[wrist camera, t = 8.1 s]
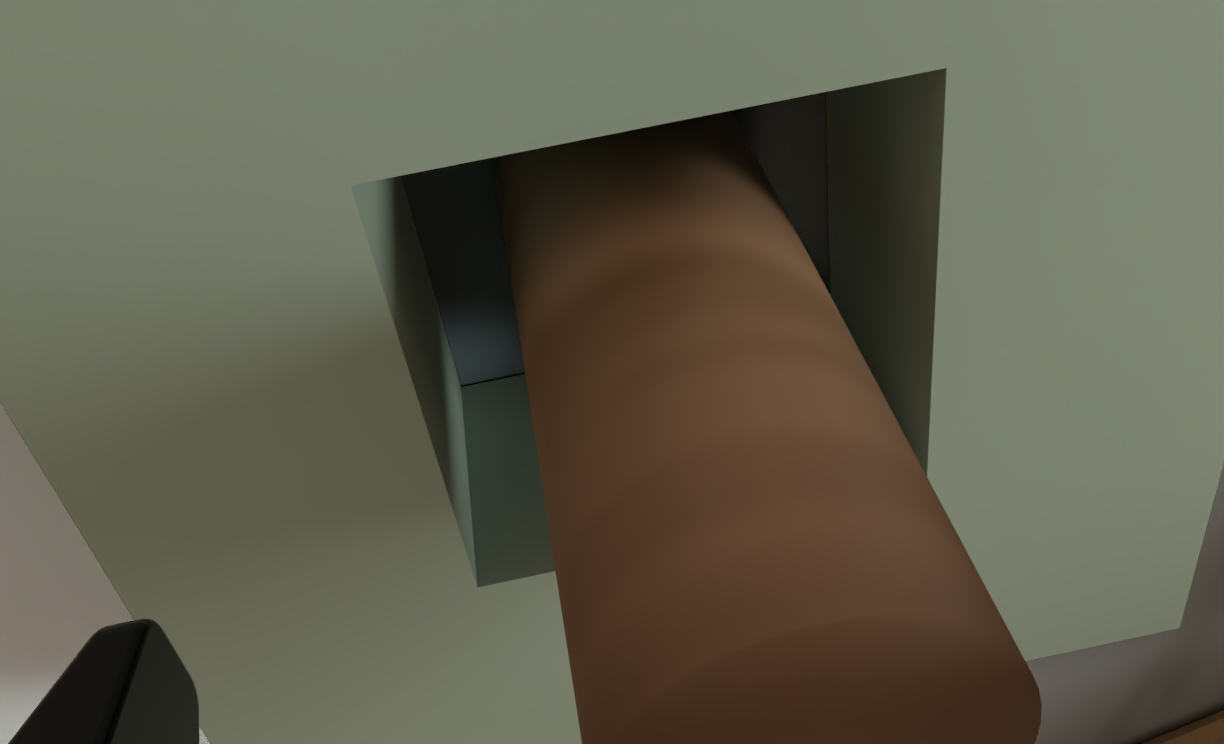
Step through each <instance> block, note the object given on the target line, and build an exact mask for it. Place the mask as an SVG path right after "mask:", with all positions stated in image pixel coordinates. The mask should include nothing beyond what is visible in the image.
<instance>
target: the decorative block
mask: <svg viewBox="0 0 1224 744" xmlns="http://www.w3.org/2000/svg"><path fill="white" fill-rule="evenodd" d="M1142 744H1224V710H1222V711H1220V712H1217V713H1215V714H1212V715H1210V716H1207V717H1205V718H1203V719H1200V720H1198V721H1195V722H1193V723H1190V724H1188V725H1185V726H1183V727H1181V728H1178V729H1176V730H1173V731H1171V732H1168V733H1166V734H1164V735H1161V736H1159V737H1156V738H1154V739H1151V740H1149V741H1146V742H1144V743H1142Z"/></svg>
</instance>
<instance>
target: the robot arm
mask: <svg viewBox="0 0 1224 744" xmlns="http://www.w3.org/2000/svg"><path fill="white" fill-rule="evenodd" d="M8 744H199V703H198V696H197V692H196V688H195V685H194V682H193V680H192V678H191V676H190V674H189V672H188V671H187V669H186V667H185V666H184V664H183V662H182V661H181V659H180V657H179V656H178V654H177V652H176V651H175V649H174V647H173V646H172V644H171V642H170V641H169V639H168V637H167V636H166V634H165V632H164V631H163V629H162V628H161V626H160V625H159V624H158V623H157V622H155V621H154V620H152V619H139V620H135V621H130V622H125V623H120V624H116V625H111V626H106V627H104V628H102V629H100V630H98V631H97V632H96V633H95V634H93V636H92V637H91V638H90V639H89V640H88V641H87V643H86V644H85V645H84V647H83V648H82V649H81V650H80V652H79V653H78V654H77V656H76V657H75V658H74V660H73V661H72V662H71V663H70V665H69V666H68V667H67V669H66V670H65V671H64V672H63V674H62V675H61V676H60V678H59V679H58V680H57V681H56V683H55V684H54V685H53V687H52V688H51V689H50V691H49V692H48V693H47V694H46V696H45V697H44V698H43V700H42V701H41V702H40V703H39V705H38V706H37V707H36V709H35V710H34V711H33V712H32V714H31V715H30V716H29V718H28V719H27V720H26V721H25V723H24V724H23V725H22V727H21V728H20V729H19V731H18V732H17V733H16V734H15V736H14V737H13V738H12V740H11V741H10V742H9V743H8Z"/></svg>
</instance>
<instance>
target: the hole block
mask: <svg viewBox="0 0 1224 744" xmlns="http://www.w3.org/2000/svg"><path fill="white" fill-rule="evenodd" d="M823 92H826V107H827V153H828V199H829V245H830V291H831V298H832V300H833V301H834V303H835V305H836V307H837V309H838V311H839V313H840V315H841V316H842V318H843V320H844V322H845V324H846V326H847V328H848V330H849V332H850V333H851V335H852V337H853V339H854V341H855V343H856V345H857V347H858V348H859V350H860V352H861V354H862V356H863V358H864V360H865V362H866V363H867V365H868V367H869V369H870V371H871V373H872V375H873V377H874V378H875V380H876V382H877V384H878V386H879V388H880V390H881V392H882V393H883V395H884V397H885V399H886V401H887V403H888V405H889V407H890V408H891V410H892V412H893V414H894V416H895V418H896V420H897V422H898V423H899V425H900V427H901V429H902V431H903V433H904V435H905V437H906V438H907V440H908V442H909V444H910V446H911V448H912V450H913V452H914V453H915V455H916V457H917V459H918V461H919V463H920V465H921V467H922V468H923V470H924V472H925V474H926V476H927V478H928V480H929V482H930V483H931V485H932V487H933V489H934V491H935V493H936V495H937V497H938V498H939V500H940V502H941V504H942V506H943V508H944V510H945V512H946V513H947V515H948V517H949V519H950V521H951V523H952V525H953V527H954V528H955V530H956V532H957V534H958V536H959V538H960V540H961V542H962V543H963V545H964V547H965V549H966V551H967V553H968V555H969V557H970V559H971V560H972V562H973V564H974V566H975V568H976V570H977V572H978V574H979V575H980V577H981V579H982V581H983V583H984V585H985V587H986V589H987V590H988V592H989V594H990V596H991V598H992V600H993V602H994V604H995V605H996V607H997V609H998V611H999V613H1000V615H1001V617H1002V619H1003V620H1004V622H1005V624H1006V626H1007V628H1008V630H1009V632H1010V634H1011V635H1012V637H1013V639H1014V641H1015V643H1016V645H1017V647H1018V649H1019V650H1020V652H1021V654H1022V656H1023V658H1024V660H1025V662H1026V661H1030V660H1035V659H1040V658H1044V657H1049V656H1053V655H1058V654H1063V653H1067V652H1072V651H1077V650H1081V649H1086V648H1090V647H1095V646H1100V645H1104V644H1109V643H1114V642H1118V641H1123V640H1127V639H1132V638H1137V637H1141V636H1146V635H1151V634H1155V633H1160V632H1164V631H1169V630H1174V629H1178V628H1180V625H1181V621H1182V617H1183V614H1184V610H1185V606H1186V602H1187V599H1188V595H1189V591H1190V588H1191V584H1192V580H1193V576H1194V573H1195V569H1196V565H1197V561H1198V558H1199V554H1200V550H1201V547H1202V543H1203V539H1204V535H1205V532H1206V528H1207V524H1208V521H1209V517H1210V513H1211V509H1212V506H1213V502H1214V498H1215V494H1216V491H1217V487H1218V483H1219V480H1220V476H1221V472H1222V468H1223V465H1224V0H0V402H1V404H2V406H3V407H4V409H5V411H6V412H7V414H8V415H9V417H10V419H11V420H12V422H13V424H14V425H15V427H16V428H17V430H18V432H19V433H20V435H21V437H22V438H23V440H24V441H25V443H26V445H27V446H28V448H29V450H30V451H31V453H32V455H33V456H34V458H35V459H36V461H37V463H38V464H39V466H40V468H41V469H42V471H43V472H44V474H45V476H46V477H47V479H48V481H49V482H50V484H51V485H52V487H53V489H54V490H55V492H56V494H57V495H58V497H59V498H60V500H61V502H62V503H63V505H64V507H65V508H66V510H67V511H68V513H69V515H70V516H71V518H72V520H73V521H74V523H75V524H76V526H77V528H78V529H79V531H80V533H81V534H82V536H83V537H84V539H85V541H86V542H87V544H88V546H89V547H90V549H91V550H92V552H93V554H94V555H95V557H96V559H97V560H98V562H99V563H100V565H101V567H102V568H103V570H104V572H105V573H106V575H107V576H108V578H109V580H110V581H111V583H112V585H113V586H114V588H115V589H116V591H117V593H118V594H119V596H120V598H121V599H122V601H123V602H124V604H125V606H126V607H127V609H128V611H129V612H130V614H131V616H132V617H133V619H134V620H139V619H152V620H154V621H155V622H157V623H158V624H159V625H160V626H161V628H162V629H163V631H164V632H165V634H166V636H167V637H168V639H169V641H170V642H171V644H172V646H173V647H174V649H175V651H176V652H177V654H178V656H179V657H180V659H181V661H182V662H183V664H184V666H185V667H186V669H187V671H188V672H189V674H190V676H191V678H192V680H193V682H194V685H195V688H196V692H197V696H198V703H199V726H200V728H201V729H202V731H203V733H204V734H205V736H206V737H207V739H208V741H209V742H210V744H582V741H581V734H580V728H579V721H578V715H577V708H576V702H575V695H574V689H573V682H572V676H571V669H570V663H569V656H568V650H567V643H566V637H565V630H564V624H563V617H562V611H561V604H560V598H559V591H558V585H557V578H556V572H555V565H554V559H553V552H552V546H551V539H550V533H549V526H548V520H547V513H546V507H545V500H544V494H543V487H542V481H541V474H540V468H539V461H538V455H537V448H536V442H535V436H534V429H533V423H532V416H531V410H530V403H529V397H528V390H527V384H526V377H525V374H523V375H518V376H513V377H508V378H504V379H499V380H494V381H489V382H484V383H479V384H474V385H469V386H464V387H461V386H460V382H459V379H458V375H457V372H456V368H455V365H454V361H453V358H452V354H451V351H450V347H449V344H448V340H447V337H446V333H445V330H444V326H443V323H442V319H441V316H440V312H439V309H438V305H437V301H436V298H435V294H434V291H433V287H432V284H431V280H430V277H429V273H428V270H427V266H426V263H425V259H424V256H423V252H422V249H421V245H420V242H419V238H418V235H417V231H416V227H415V224H414V220H413V217H412V213H411V210H410V206H409V203H408V199H407V196H406V192H405V189H404V185H403V182H402V178H401V176H402V175H407V174H412V173H417V172H422V171H427V170H432V169H437V168H443V167H448V166H453V165H458V164H463V163H468V162H473V161H478V160H483V159H488V158H493V157H498V156H503V155H508V154H513V153H519V152H524V151H529V150H534V149H539V148H544V147H549V146H554V145H559V144H564V143H569V142H574V141H579V140H584V139H589V138H595V137H600V136H605V135H610V134H615V133H620V132H625V131H630V130H635V129H640V128H645V127H650V126H655V125H660V124H666V123H671V122H676V121H681V120H686V119H691V118H696V117H701V116H706V115H711V114H716V113H721V112H726V111H731V110H736V109H742V108H747V107H752V106H757V105H762V104H767V103H772V102H777V101H782V100H787V99H792V98H797V97H802V96H807V95H813V94H818V93H823Z"/></svg>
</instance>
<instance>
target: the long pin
mask: <svg viewBox="0 0 1224 744" xmlns="http://www.w3.org/2000/svg"><path fill="white" fill-rule="evenodd" d="M497 195H498V202H499V208H500V215H501V221H502V228H503V234H504V241H505V247H506V254H507V260H508V267H509V273H510V280H511V286H512V293H513V299H514V306H515V312H516V319H517V325H518V332H519V338H520V345H521V351H522V358H523V364H524V371H525V377H526V384H527V390H528V397H529V403H530V410H531V416H532V423H533V429H534V436H535V442H536V448H537V455H538V461H539V468H540V474H541V481H542V487H543V494H544V500H545V507H546V513H547V520H548V526H549V533H550V539H551V546H552V552H553V559H554V565H555V572H556V578H557V585H558V591H559V598H560V604H561V611H562V617H563V624H564V630H565V637H566V643H567V650H568V656H569V663H570V669H571V676H572V682H573V689H574V695H575V702H576V708H577V715H578V721H579V728H580V734H581V741H582V744H1034V743H1035V741H1036V737H1037V734H1038V730H1039V726H1040V722H1041V700H1040V694H1039V689H1038V686H1037V684H1036V682H1035V680H1034V677H1033V675H1032V673H1031V671H1030V669H1029V667H1028V665H1027V664H1026V662H1025V660H1024V658H1023V656H1022V654H1021V652H1020V650H1019V649H1018V647H1017V645H1016V643H1015V641H1014V639H1013V637H1012V635H1011V634H1010V632H1009V630H1008V628H1007V626H1006V624H1005V622H1004V620H1003V619H1002V617H1001V615H1000V613H999V611H998V609H997V607H996V605H995V604H994V602H993V600H992V598H991V596H990V594H989V592H988V590H987V589H986V587H985V585H984V583H983V581H982V579H981V577H980V575H979V574H978V572H977V570H976V568H975V566H974V564H973V562H972V560H971V559H970V557H969V555H968V553H967V551H966V549H965V547H964V545H963V543H962V542H961V540H960V538H959V536H958V534H957V532H956V530H955V528H954V527H953V525H952V523H951V521H950V519H949V517H948V515H947V513H946V512H945V510H944V508H943V506H942V504H941V502H940V500H939V498H938V497H937V495H936V493H935V491H934V489H933V487H932V485H931V483H930V482H929V480H928V478H927V476H926V474H925V472H924V470H923V468H922V467H921V465H920V463H919V461H918V459H917V457H916V455H915V453H914V452H913V450H912V448H911V446H910V444H909V442H908V440H907V438H906V437H905V435H904V433H903V431H902V429H901V427H900V425H899V423H898V422H897V420H896V418H895V416H894V414H893V412H892V410H891V408H890V407H889V405H888V403H887V401H886V399H885V397H884V395H883V393H882V392H881V390H880V388H879V386H878V384H877V382H876V380H875V378H874V377H873V375H872V373H871V371H870V369H869V367H868V365H867V363H866V362H865V360H864V358H863V356H862V354H861V352H860V350H859V348H858V347H857V345H856V343H855V341H854V339H853V337H852V335H851V333H850V332H849V330H848V328H847V326H846V324H845V322H844V320H843V318H842V316H841V315H840V313H839V311H838V309H837V307H836V305H835V303H834V301H833V300H832V298H831V296H830V294H829V292H828V290H827V288H826V286H825V285H824V283H823V281H822V279H821V277H820V275H819V273H818V271H817V270H816V268H815V266H814V264H813V262H812V260H811V258H810V256H809V255H808V253H807V251H806V249H805V247H804V245H803V243H802V241H801V240H800V238H799V236H798V234H797V232H796V230H795V228H794V226H793V225H792V223H791V221H790V219H789V217H788V215H787V213H786V211H785V210H784V208H783V206H782V204H781V202H780V200H779V198H778V196H777V195H776V193H775V191H774V189H773V187H772V185H771V183H770V181H769V180H768V178H767V176H766V174H765V172H764V170H763V168H762V166H761V165H760V163H759V161H758V159H757V157H756V155H755V153H754V151H753V150H752V148H751V146H750V144H749V142H748V140H747V138H746V136H745V135H744V133H743V131H742V129H741V127H740V125H739V123H738V121H737V120H736V118H735V116H734V114H733V113H732V111H726V112H721V113H716V114H711V115H706V116H701V117H696V118H691V119H686V120H681V121H676V122H671V123H666V124H660V125H655V126H650V127H645V128H640V129H635V130H630V131H625V132H620V133H615V134H610V135H605V136H600V137H595V138H589V139H584V140H579V141H574V142H569V143H564V144H559V145H554V146H549V147H544V148H539V149H534V150H529V151H524V152H519V153H513V154H508V155H503V156H500V159H499V165H498V172H497Z"/></svg>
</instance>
